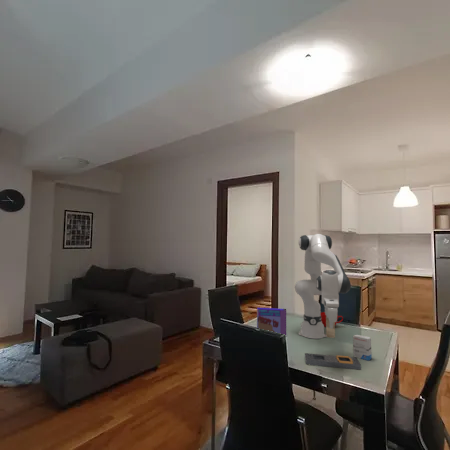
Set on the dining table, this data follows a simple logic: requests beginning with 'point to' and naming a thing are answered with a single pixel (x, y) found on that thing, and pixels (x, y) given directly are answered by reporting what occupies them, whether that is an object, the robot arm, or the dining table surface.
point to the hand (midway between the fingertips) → (330, 326)
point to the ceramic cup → (323, 318)
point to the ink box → (362, 347)
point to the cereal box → (272, 319)
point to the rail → (333, 361)
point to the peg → (330, 329)
